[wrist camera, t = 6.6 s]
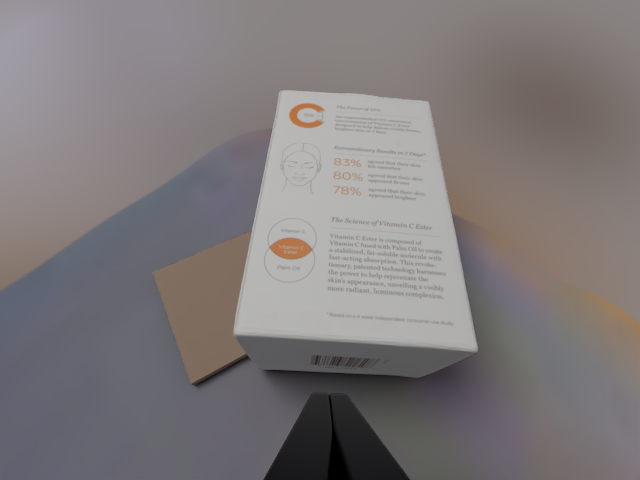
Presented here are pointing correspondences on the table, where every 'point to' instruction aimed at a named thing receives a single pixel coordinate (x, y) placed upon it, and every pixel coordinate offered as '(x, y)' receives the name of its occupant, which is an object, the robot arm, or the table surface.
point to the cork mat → (205, 305)
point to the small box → (353, 244)
